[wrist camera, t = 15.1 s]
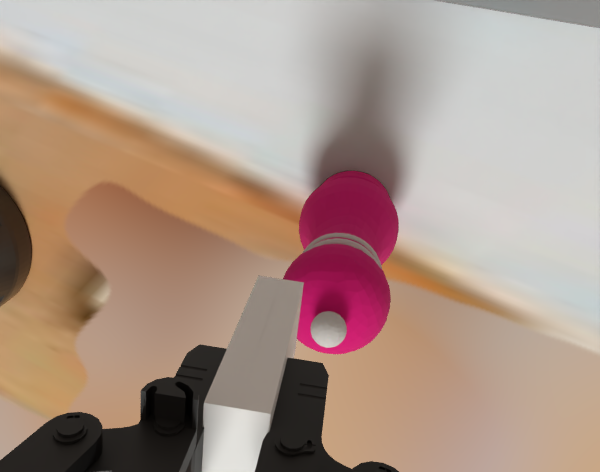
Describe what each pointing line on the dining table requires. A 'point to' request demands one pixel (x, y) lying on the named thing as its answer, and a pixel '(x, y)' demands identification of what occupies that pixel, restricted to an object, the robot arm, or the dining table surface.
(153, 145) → the dining table surface
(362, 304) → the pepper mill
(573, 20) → the stand
